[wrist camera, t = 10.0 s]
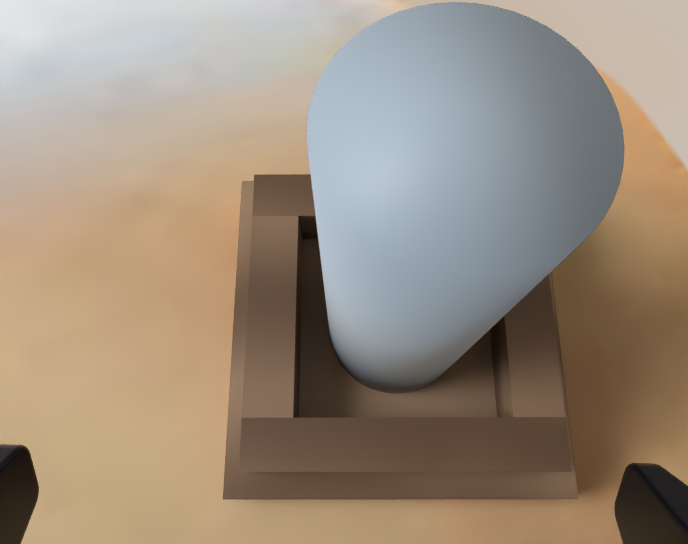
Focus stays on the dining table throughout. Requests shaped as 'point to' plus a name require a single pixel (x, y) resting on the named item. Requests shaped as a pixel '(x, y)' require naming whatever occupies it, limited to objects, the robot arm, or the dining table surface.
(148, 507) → the dining table surface
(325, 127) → the blue-gray capsule
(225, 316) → the dining table surface
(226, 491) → the socket base
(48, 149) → the dining table surface
